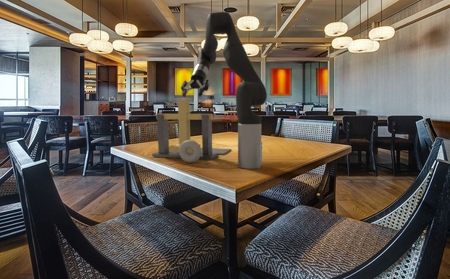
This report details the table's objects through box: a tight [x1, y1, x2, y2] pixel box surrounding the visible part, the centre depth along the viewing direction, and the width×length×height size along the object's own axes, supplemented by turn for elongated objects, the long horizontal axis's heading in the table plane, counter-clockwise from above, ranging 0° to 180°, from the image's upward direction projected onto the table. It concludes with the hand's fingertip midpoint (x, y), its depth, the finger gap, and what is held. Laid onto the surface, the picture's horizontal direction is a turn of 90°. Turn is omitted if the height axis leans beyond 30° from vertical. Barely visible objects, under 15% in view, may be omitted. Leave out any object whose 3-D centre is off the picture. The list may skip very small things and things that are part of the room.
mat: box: [201, 147, 232, 156], centre depth 138 cm, size 20×14×1 cm
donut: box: [179, 139, 202, 164], centre depth 112 cm, size 10×4×10 cm, turn 76°
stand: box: [151, 113, 219, 161], centre depth 125 cm, size 30×10×20 cm, turn 73°
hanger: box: [155, 98, 214, 153], centre depth 124 cm, size 28×10×24 cm, turn 73°
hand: (191, 95), depth 131 cm, fingers open, 8 cm apart
